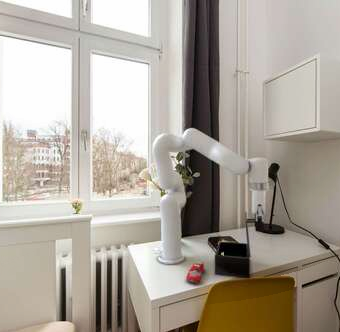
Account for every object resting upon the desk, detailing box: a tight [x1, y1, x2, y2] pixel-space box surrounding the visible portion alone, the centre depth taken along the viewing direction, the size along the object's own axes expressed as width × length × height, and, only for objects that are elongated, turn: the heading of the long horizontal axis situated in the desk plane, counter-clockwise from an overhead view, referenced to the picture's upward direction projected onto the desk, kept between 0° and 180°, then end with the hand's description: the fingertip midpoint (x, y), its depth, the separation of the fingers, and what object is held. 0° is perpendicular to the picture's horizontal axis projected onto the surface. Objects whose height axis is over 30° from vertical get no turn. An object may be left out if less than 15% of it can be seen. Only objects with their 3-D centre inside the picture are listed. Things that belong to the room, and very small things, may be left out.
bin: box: [214, 241, 251, 279], centre depth 95 cm, size 14×18×8 cm
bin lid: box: [244, 211, 258, 258], centre depth 93 cm, size 14×18×6 cm
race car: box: [185, 262, 206, 284], centre depth 87 cm, size 13×5×4 cm, turn 162°
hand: (259, 229), depth 93 cm, fingers closed on bin lid, 5 cm apart
